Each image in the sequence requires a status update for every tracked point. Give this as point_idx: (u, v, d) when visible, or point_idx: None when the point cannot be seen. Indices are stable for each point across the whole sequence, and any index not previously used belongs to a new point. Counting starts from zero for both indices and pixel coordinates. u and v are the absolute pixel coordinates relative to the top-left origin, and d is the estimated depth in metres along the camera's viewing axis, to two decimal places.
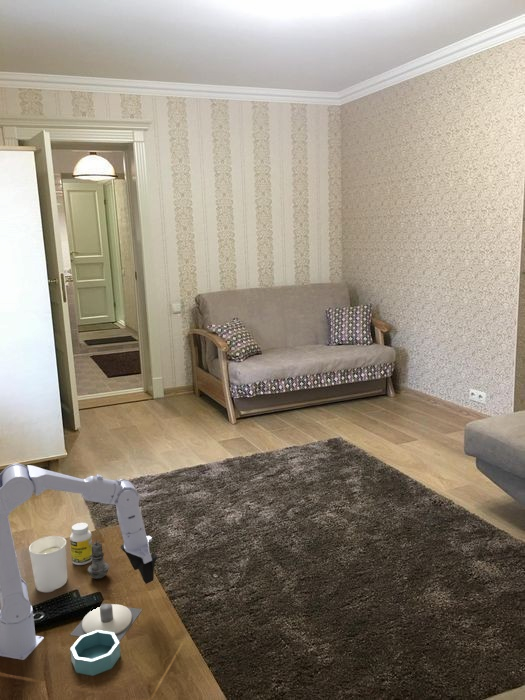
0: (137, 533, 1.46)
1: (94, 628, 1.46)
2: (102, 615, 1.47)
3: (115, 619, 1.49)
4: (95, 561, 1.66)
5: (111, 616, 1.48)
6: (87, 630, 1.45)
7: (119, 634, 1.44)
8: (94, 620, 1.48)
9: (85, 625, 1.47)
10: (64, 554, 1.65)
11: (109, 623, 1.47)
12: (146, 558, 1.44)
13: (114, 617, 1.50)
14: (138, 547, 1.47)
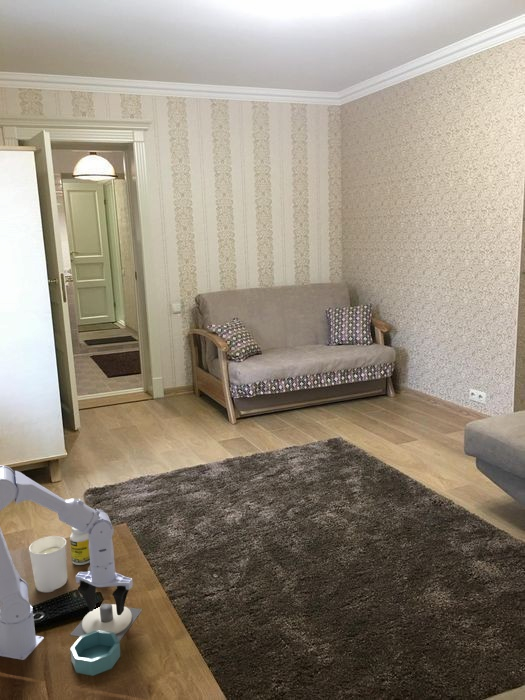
0: (113, 563, 1.45)
1: (94, 628, 1.46)
2: (102, 615, 1.47)
3: (115, 619, 1.49)
4: None
5: (111, 616, 1.48)
6: (87, 630, 1.45)
7: (119, 634, 1.44)
8: (94, 620, 1.48)
9: (85, 625, 1.47)
10: (64, 554, 1.65)
11: (109, 623, 1.47)
12: (130, 583, 1.45)
13: (114, 617, 1.50)
14: (113, 578, 1.46)
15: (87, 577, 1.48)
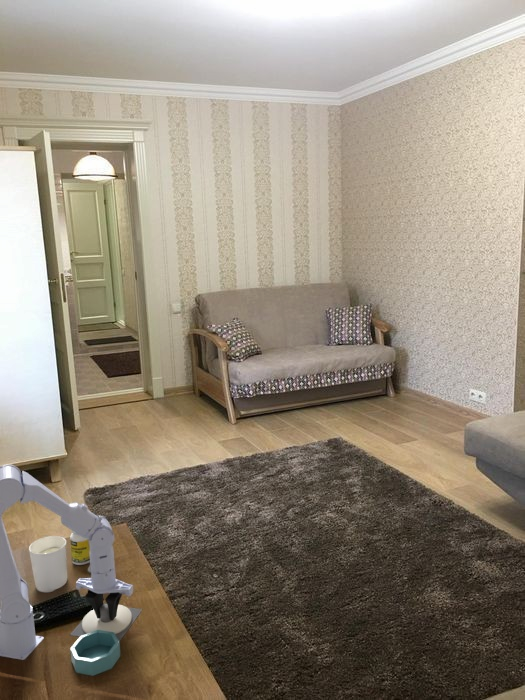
0: (113, 570, 1.46)
1: (94, 628, 1.46)
2: (102, 615, 1.47)
3: (115, 619, 1.49)
4: None
5: None
6: (87, 630, 1.45)
7: (119, 634, 1.44)
8: (94, 620, 1.48)
9: (85, 625, 1.47)
10: (64, 554, 1.65)
11: (109, 623, 1.47)
12: (130, 590, 1.45)
13: None
14: (113, 584, 1.46)
15: (87, 583, 1.48)
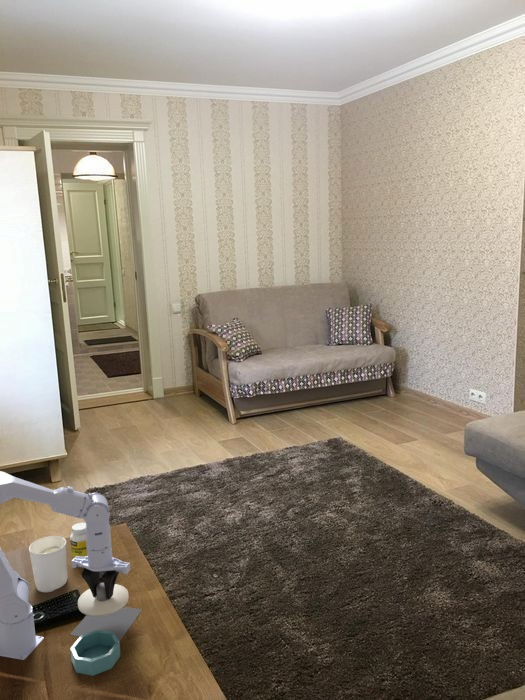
0: (110, 547, 1.43)
1: (90, 607, 1.42)
2: (98, 594, 1.44)
3: (111, 597, 1.46)
4: None
5: None
6: (83, 609, 1.42)
7: (119, 634, 1.44)
8: (90, 599, 1.45)
9: (81, 604, 1.44)
10: (64, 554, 1.65)
11: (105, 602, 1.44)
12: (127, 568, 1.42)
13: None
14: (110, 562, 1.43)
15: (83, 562, 1.45)
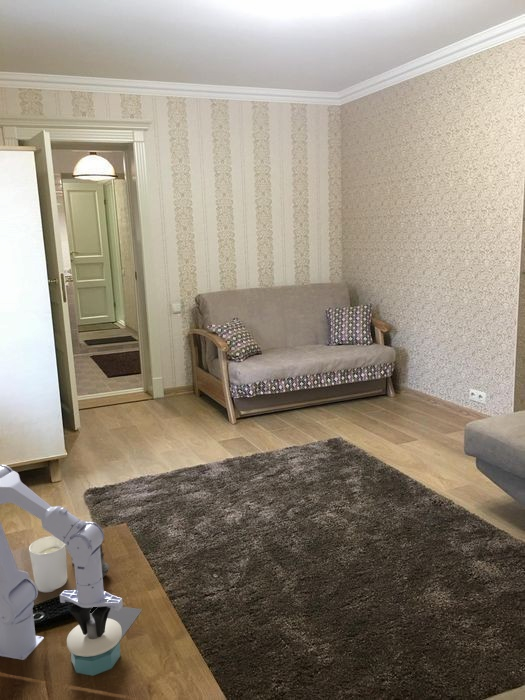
0: (101, 581, 1.32)
1: (80, 646, 1.32)
2: (89, 631, 1.34)
3: (103, 634, 1.35)
4: None
5: None
6: (73, 648, 1.31)
7: None
8: (80, 637, 1.35)
9: (70, 642, 1.33)
10: (64, 554, 1.65)
11: (96, 640, 1.33)
12: (120, 604, 1.31)
13: None
14: (101, 597, 1.32)
15: (72, 596, 1.34)
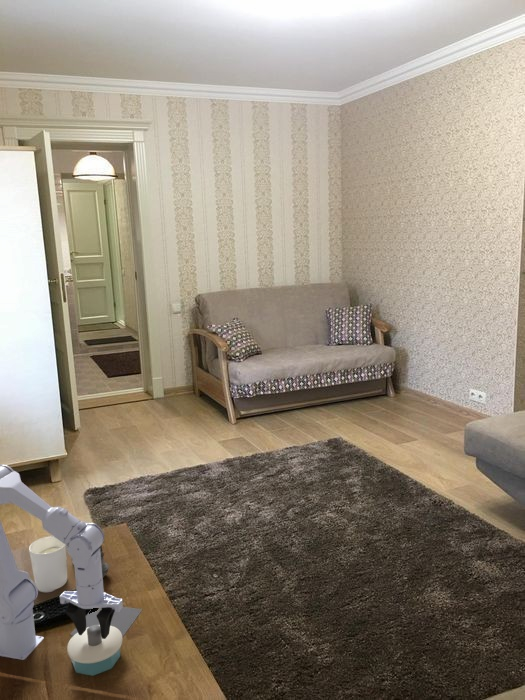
0: (101, 582, 1.32)
1: (81, 652, 1.32)
2: (89, 638, 1.34)
3: (104, 641, 1.35)
4: None
5: (99, 639, 1.35)
6: (73, 655, 1.31)
7: None
8: (80, 644, 1.35)
9: (71, 649, 1.33)
10: (64, 554, 1.65)
11: (97, 647, 1.34)
12: (120, 605, 1.31)
13: (103, 639, 1.36)
14: (101, 599, 1.32)
15: (73, 597, 1.34)
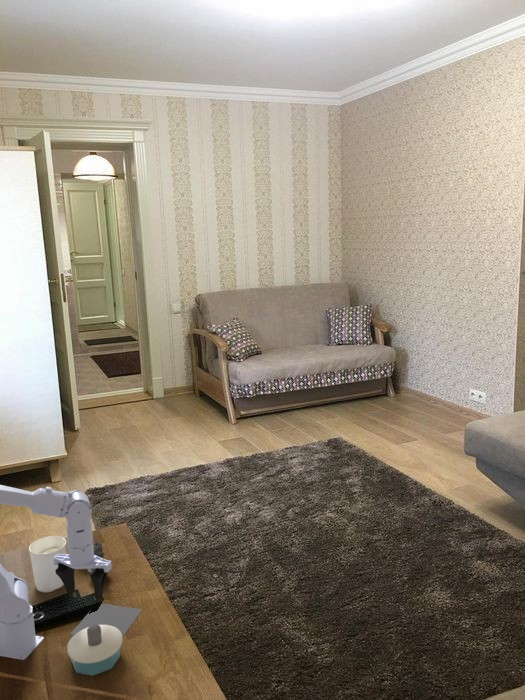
0: (91, 545, 1.42)
1: (81, 652, 1.32)
2: (89, 638, 1.34)
3: (104, 641, 1.35)
4: None
5: (99, 639, 1.35)
6: (73, 655, 1.31)
7: None
8: (80, 644, 1.35)
9: (71, 649, 1.33)
10: None
11: (97, 647, 1.34)
12: (108, 566, 1.41)
13: (103, 639, 1.36)
14: (91, 560, 1.42)
15: (65, 559, 1.44)
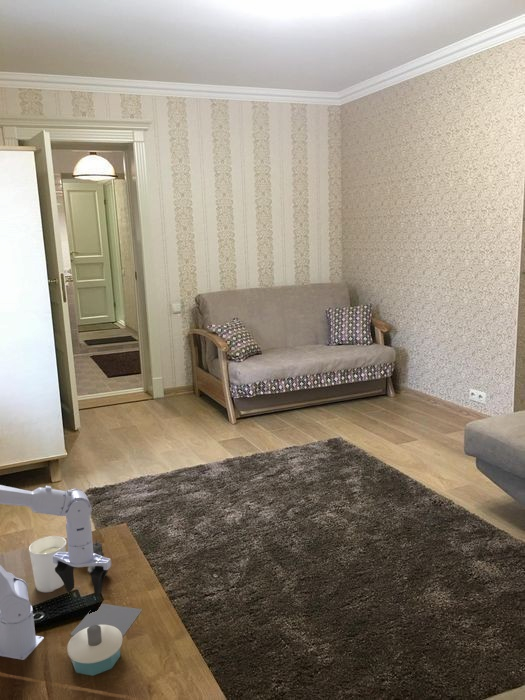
0: (91, 543, 1.43)
1: (81, 652, 1.32)
2: (89, 638, 1.34)
3: (104, 641, 1.35)
4: None
5: (99, 639, 1.35)
6: (73, 655, 1.31)
7: None
8: (80, 644, 1.35)
9: (71, 649, 1.33)
10: None
11: (97, 647, 1.34)
12: (108, 564, 1.42)
13: (103, 639, 1.36)
14: (91, 558, 1.43)
15: (65, 557, 1.45)
